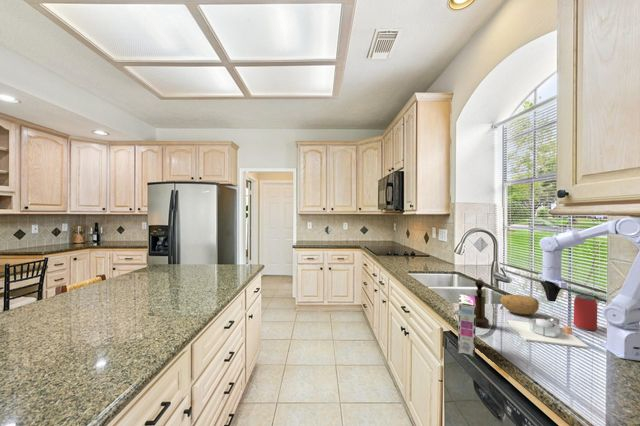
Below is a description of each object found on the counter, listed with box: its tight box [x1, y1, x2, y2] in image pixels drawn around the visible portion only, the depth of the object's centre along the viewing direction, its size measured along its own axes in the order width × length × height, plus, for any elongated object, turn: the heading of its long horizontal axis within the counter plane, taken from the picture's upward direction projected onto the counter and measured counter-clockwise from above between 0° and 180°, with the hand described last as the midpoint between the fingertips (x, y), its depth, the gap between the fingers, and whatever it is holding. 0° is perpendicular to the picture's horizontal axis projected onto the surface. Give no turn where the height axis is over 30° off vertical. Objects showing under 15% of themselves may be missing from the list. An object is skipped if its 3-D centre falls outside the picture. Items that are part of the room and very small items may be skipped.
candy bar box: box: [457, 293, 477, 358], centre depth 91 cm, size 11×5×16 cm, turn 152°
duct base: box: [507, 318, 590, 349], centre depth 101 cm, size 17×18×5 cm
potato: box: [499, 294, 540, 316], centre depth 121 cm, size 10×14×8 cm
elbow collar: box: [528, 317, 561, 337], centre depth 102 cm, size 13×8×3 cm, turn 117°
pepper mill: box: [474, 279, 490, 328], centre depth 109 cm, size 7×6×18 cm
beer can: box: [573, 294, 598, 332], centre depth 107 cm, size 7×7×12 cm
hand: (551, 300), depth 108 cm, fingers closed
